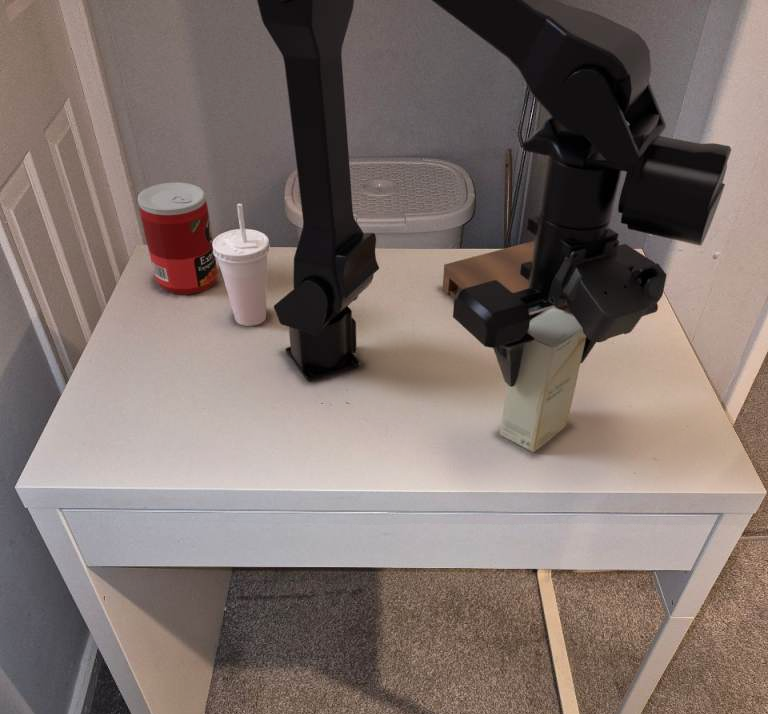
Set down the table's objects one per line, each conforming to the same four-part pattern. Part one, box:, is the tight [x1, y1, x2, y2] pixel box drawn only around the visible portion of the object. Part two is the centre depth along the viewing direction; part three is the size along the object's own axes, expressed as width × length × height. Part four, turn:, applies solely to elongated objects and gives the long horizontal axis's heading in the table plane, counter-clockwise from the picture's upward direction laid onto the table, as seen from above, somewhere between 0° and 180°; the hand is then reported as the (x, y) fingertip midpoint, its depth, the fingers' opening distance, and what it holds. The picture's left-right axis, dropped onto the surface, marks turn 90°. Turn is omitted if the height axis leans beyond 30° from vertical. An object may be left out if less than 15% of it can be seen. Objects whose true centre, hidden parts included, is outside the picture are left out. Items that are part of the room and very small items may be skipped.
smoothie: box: [212, 203, 271, 327], centre depth 87 cm, size 6×6×14 cm
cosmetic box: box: [499, 308, 586, 453], centre depth 73 cm, size 6×4×12 cm
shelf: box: [442, 240, 572, 320], centre depth 94 cm, size 14×12×4 cm
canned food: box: [137, 182, 219, 295], centre depth 94 cm, size 8×8×11 cm
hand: (544, 372), depth 73 cm, fingers open, 8 cm apart
